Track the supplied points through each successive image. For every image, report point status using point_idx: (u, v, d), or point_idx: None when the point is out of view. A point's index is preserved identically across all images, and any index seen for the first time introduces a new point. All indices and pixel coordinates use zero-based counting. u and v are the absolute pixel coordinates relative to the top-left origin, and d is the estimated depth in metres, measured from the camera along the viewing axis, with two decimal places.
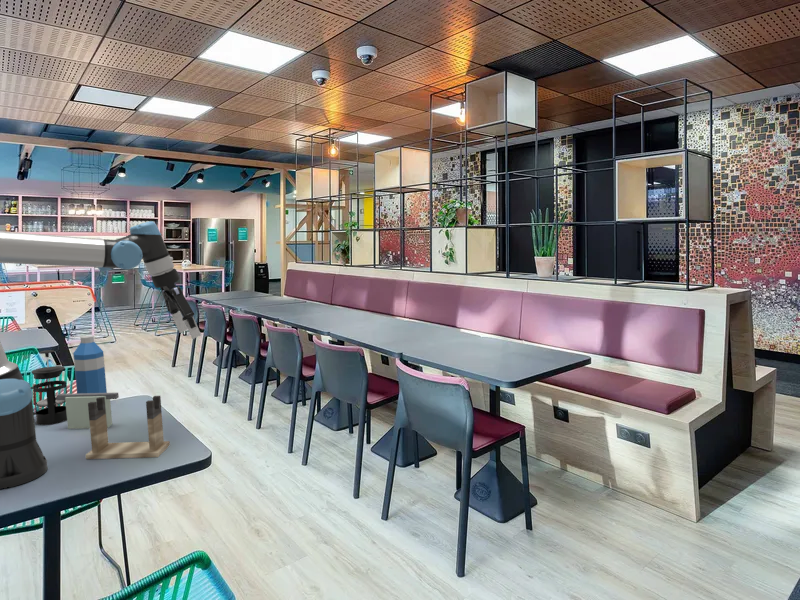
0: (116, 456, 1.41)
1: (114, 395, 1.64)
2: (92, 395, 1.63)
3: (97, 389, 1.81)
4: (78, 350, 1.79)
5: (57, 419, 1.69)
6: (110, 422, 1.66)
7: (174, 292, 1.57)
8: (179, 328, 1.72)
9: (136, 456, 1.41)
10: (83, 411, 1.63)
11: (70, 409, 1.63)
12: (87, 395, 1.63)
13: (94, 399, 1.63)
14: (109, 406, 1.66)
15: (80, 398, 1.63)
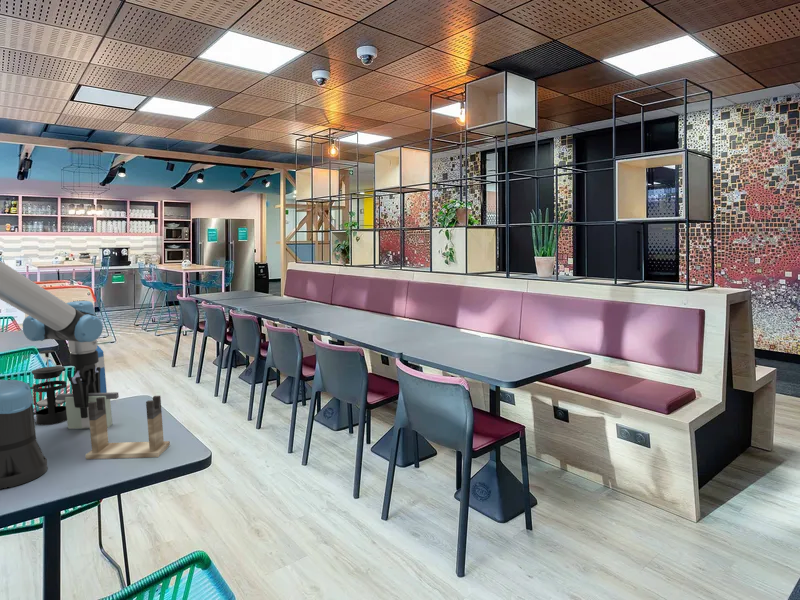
0: (116, 456, 1.41)
1: (114, 395, 1.64)
2: (92, 395, 1.63)
3: None
4: None
5: (57, 419, 1.69)
6: (110, 422, 1.66)
7: (71, 382, 1.57)
8: None
9: (136, 456, 1.41)
10: None
11: (70, 409, 1.63)
12: None
13: (94, 399, 1.63)
14: (109, 406, 1.66)
15: None
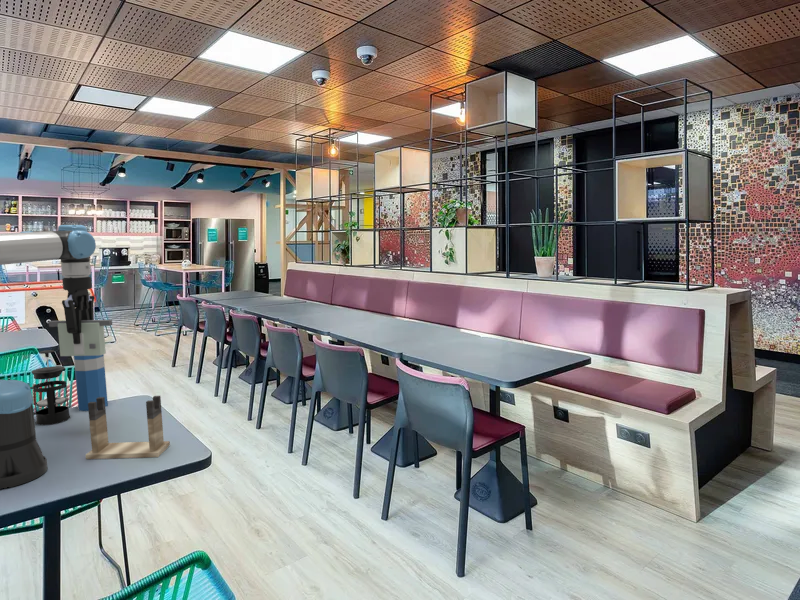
0: (116, 456, 1.41)
1: (107, 322, 1.61)
2: (85, 321, 1.60)
3: (97, 389, 1.81)
4: None
5: (57, 419, 1.69)
6: (103, 350, 1.63)
7: (64, 305, 1.54)
8: None
9: (136, 456, 1.41)
10: None
11: (62, 335, 1.60)
12: None
13: (87, 325, 1.60)
14: (102, 334, 1.63)
15: None
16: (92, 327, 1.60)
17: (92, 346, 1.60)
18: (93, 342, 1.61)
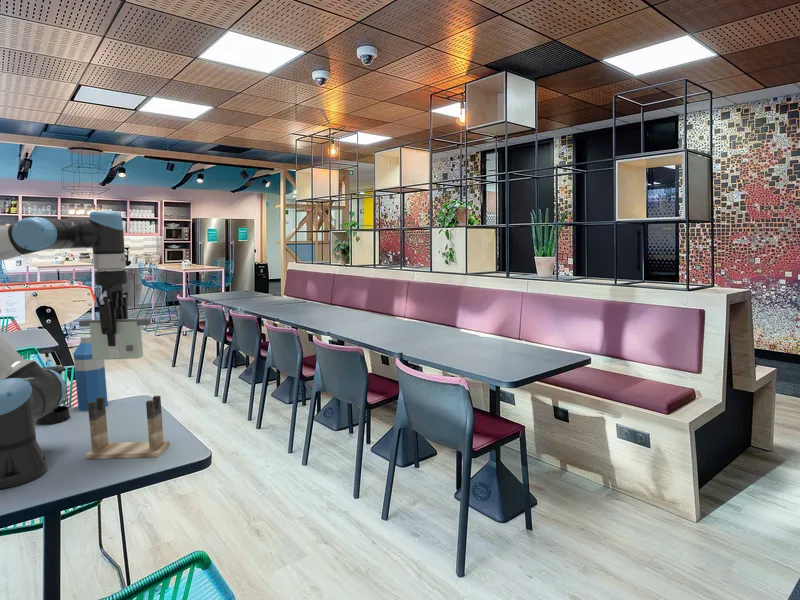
0: (116, 456, 1.41)
1: (146, 320, 1.43)
2: (121, 320, 1.42)
3: (97, 389, 1.81)
4: (78, 350, 1.79)
5: (57, 419, 1.69)
6: (141, 353, 1.45)
7: (98, 302, 1.36)
8: None
9: (136, 456, 1.41)
10: None
11: (95, 336, 1.42)
12: None
13: (123, 325, 1.42)
14: (140, 334, 1.45)
15: None
16: (129, 327, 1.42)
17: (129, 348, 1.42)
18: (130, 344, 1.42)
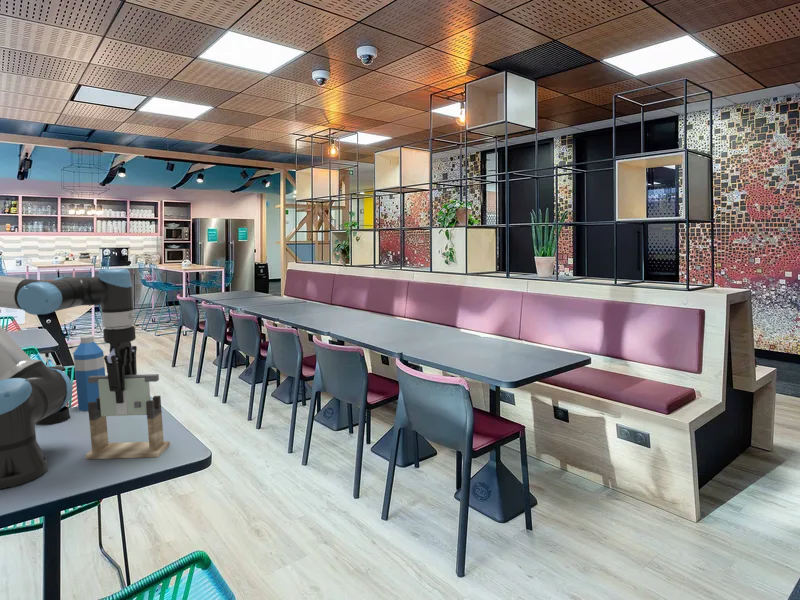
0: (116, 456, 1.41)
1: (154, 377, 1.42)
2: (129, 377, 1.42)
3: (97, 389, 1.81)
4: (78, 350, 1.79)
5: (57, 419, 1.69)
6: None
7: (106, 361, 1.36)
8: None
9: (136, 456, 1.41)
10: None
11: (103, 393, 1.41)
12: None
13: (131, 381, 1.41)
14: (148, 390, 1.44)
15: None
16: (137, 383, 1.41)
17: (137, 405, 1.41)
18: (138, 401, 1.42)
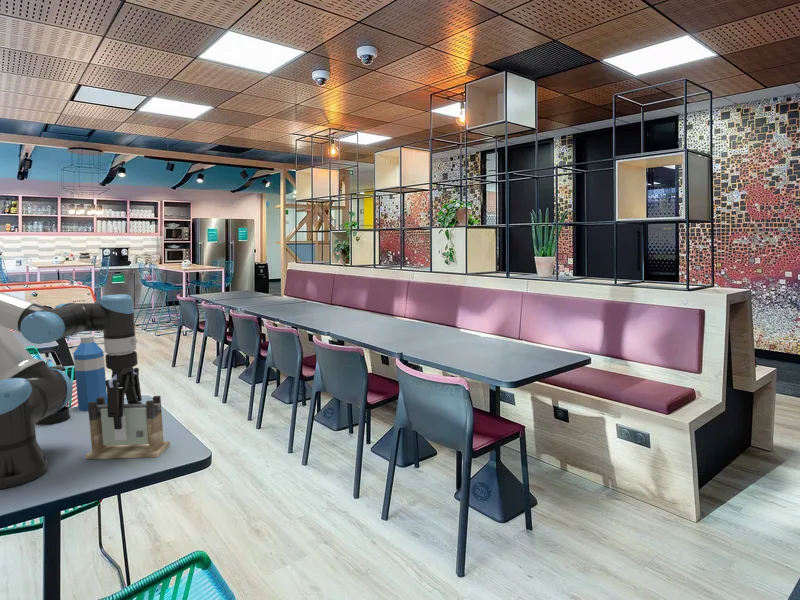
0: (116, 456, 1.41)
1: (156, 406, 1.43)
2: (131, 406, 1.43)
3: (97, 389, 1.81)
4: (78, 350, 1.79)
5: (57, 419, 1.69)
6: None
7: (107, 385, 1.36)
8: None
9: (136, 456, 1.41)
10: None
11: (106, 422, 1.42)
12: (125, 406, 1.43)
13: (134, 411, 1.42)
14: None
15: None
16: (139, 413, 1.43)
17: (139, 434, 1.42)
18: (140, 430, 1.43)
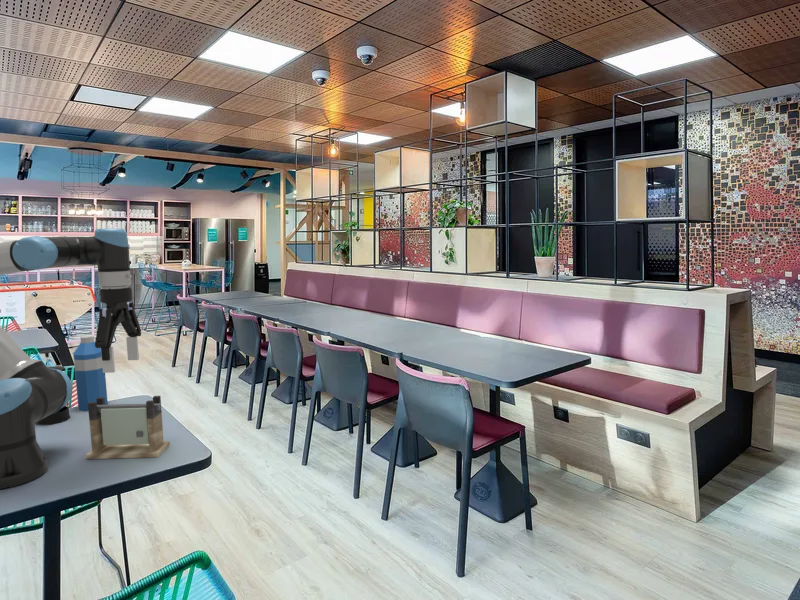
0: (116, 456, 1.41)
1: (156, 406, 1.43)
2: (131, 406, 1.43)
3: (97, 389, 1.81)
4: (78, 350, 1.79)
5: (57, 419, 1.69)
6: None
7: (100, 313, 1.34)
8: (129, 355, 1.48)
9: (136, 456, 1.41)
10: (121, 424, 1.43)
11: (106, 422, 1.43)
12: (125, 406, 1.43)
13: (134, 411, 1.42)
14: None
15: (118, 410, 1.42)
16: (139, 413, 1.43)
17: (139, 434, 1.42)
18: (140, 430, 1.43)
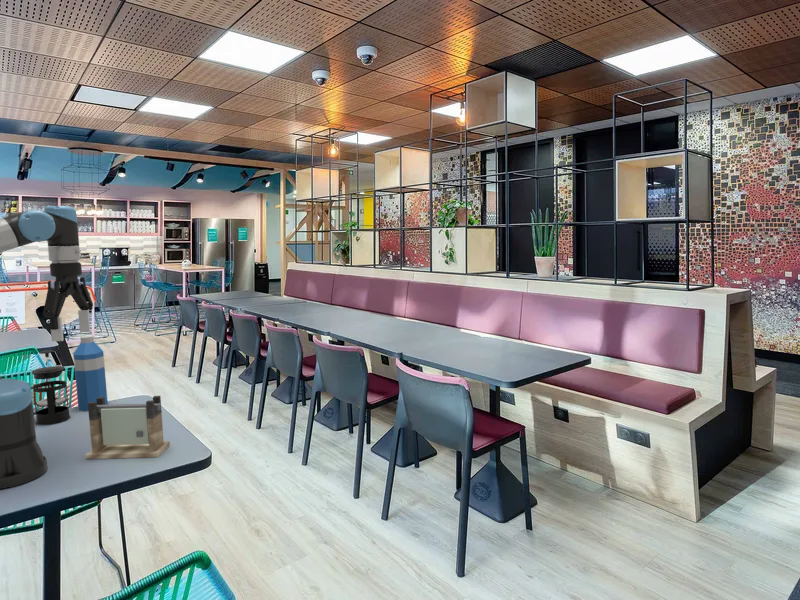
0: (116, 456, 1.41)
1: (156, 406, 1.43)
2: (131, 406, 1.43)
3: (97, 389, 1.81)
4: (78, 350, 1.79)
5: (57, 419, 1.69)
6: None
7: (49, 285, 1.42)
8: (80, 327, 1.57)
9: (136, 456, 1.41)
10: (121, 424, 1.43)
11: (106, 422, 1.43)
12: (125, 406, 1.43)
13: (134, 411, 1.42)
14: None
15: (118, 410, 1.42)
16: (139, 413, 1.43)
17: (139, 434, 1.42)
18: (140, 430, 1.43)
